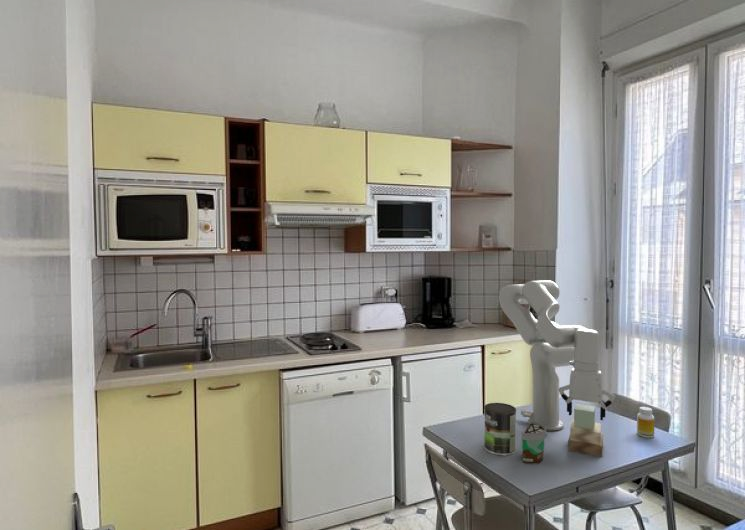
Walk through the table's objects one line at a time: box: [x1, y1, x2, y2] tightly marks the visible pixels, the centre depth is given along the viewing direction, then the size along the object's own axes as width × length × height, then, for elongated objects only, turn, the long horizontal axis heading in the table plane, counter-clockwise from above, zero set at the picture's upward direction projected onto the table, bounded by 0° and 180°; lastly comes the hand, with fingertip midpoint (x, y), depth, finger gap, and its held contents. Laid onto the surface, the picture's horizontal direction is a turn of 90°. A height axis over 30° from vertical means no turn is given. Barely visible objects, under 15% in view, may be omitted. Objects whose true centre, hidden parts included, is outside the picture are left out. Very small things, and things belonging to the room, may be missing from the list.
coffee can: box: [483, 402, 517, 457], centre depth 153 cm, size 10×10×14 cm
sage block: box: [573, 403, 596, 430], centre depth 154 cm, size 6×6×6 cm
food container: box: [521, 421, 548, 465], centre depth 145 cm, size 12×6×10 cm, turn 148°
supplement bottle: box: [636, 406, 655, 439], centre depth 164 cm, size 5×5×10 cm
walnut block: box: [567, 434, 604, 458], centre depth 154 cm, size 10×10×4 cm
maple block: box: [569, 418, 602, 445], centre depth 154 cm, size 9×9×4 cm
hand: (585, 416), depth 153 cm, fingers open, 9 cm apart
